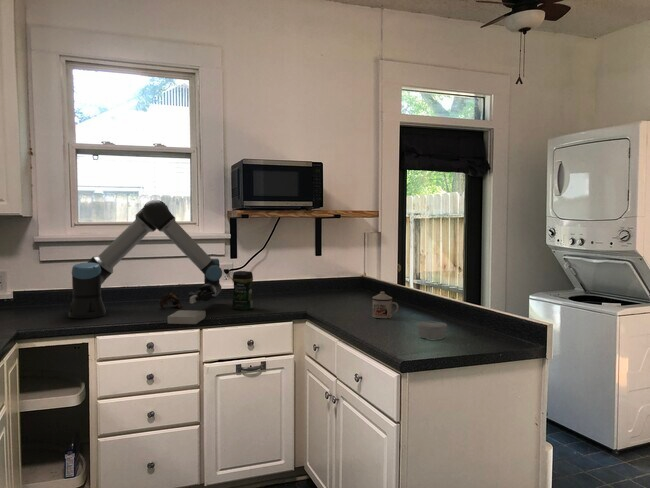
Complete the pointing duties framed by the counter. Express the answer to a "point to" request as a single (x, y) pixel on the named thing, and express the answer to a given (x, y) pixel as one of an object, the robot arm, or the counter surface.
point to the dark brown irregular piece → (170, 298)
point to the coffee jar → (242, 290)
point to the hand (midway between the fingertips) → (191, 300)
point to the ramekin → (431, 329)
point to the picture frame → (186, 317)
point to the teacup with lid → (383, 306)
